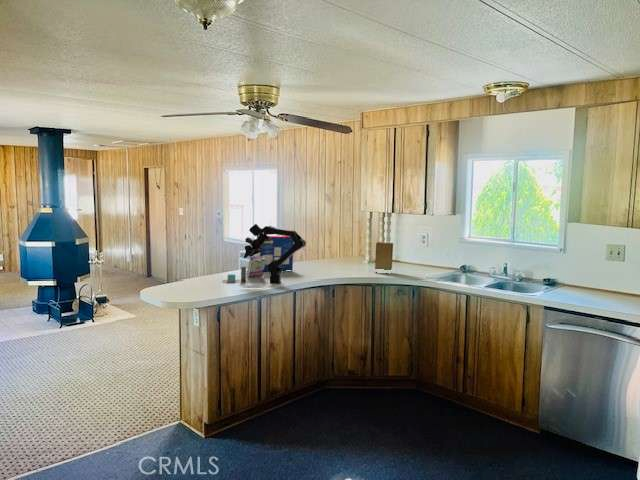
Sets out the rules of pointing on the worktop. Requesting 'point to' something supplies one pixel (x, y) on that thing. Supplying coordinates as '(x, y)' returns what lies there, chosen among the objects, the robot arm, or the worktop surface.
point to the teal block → (231, 277)
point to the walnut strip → (243, 277)
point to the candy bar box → (256, 266)
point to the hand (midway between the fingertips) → (247, 257)
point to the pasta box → (277, 251)
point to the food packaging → (384, 255)
